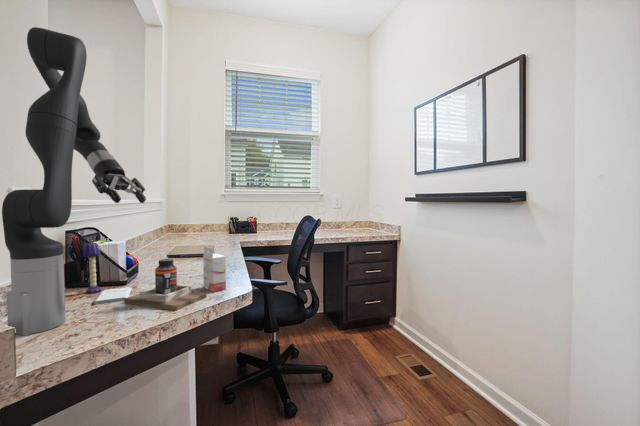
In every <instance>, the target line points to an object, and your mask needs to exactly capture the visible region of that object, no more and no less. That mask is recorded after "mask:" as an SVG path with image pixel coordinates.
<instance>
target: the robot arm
mask: <svg viewBox="0 0 640 426" xmlns="http://www.w3.org/2000/svg"><path fill="white" fill-rule="evenodd" d="M26 44H27V50H28V53H29V55H30V57H31V60H32V61H33V63H34V65H35V67H36V68H37V71H38V72H39V73H40V76H41V77H42V79H43V81H44V83H45V84H46V85H47V87H48V89H49V90H48V91H46V92H45V93H44V94H42V95H41V96H39V97H38V98H37V99H36V100H35V101H33V103H32V104H31V105H30V107H29V108H28V112H27V118H26V125H25V137H26V139H27V142H28V144H29V146H30V148H31V149H32V150H33V152H34V153H35V155H36V157H37V158H38V160H39V162H40V163H41V165H42V168H43V169H42V170H43V175H44V177H43V186H42V189H15V190H12V191H10V192H9V193H7V194H6V196H5V197H4V199H3V201H2V205H1V218H2V219H1V220H2V227H3V236H4V243H5V247H6V248H7V250H8V252H9V259H10V261H9V262H10V285H11V286H10V287H11V288H10V289H11V290H8V291H7V292H6V306H7V307H6V311H7V312H6V313H7V314H6V315H7V327H8V326H12V327H15V329H16V334H15V335H20V336H28V335H30V334H36V333H41V332H45V331H49V330H52V329H55V328H58V327H59V326H61V325H63V324H65V323H66V315H67V313H66V293H65V287H66V286H65V263H64V262H65V259H64V245H63V243H62V242H60V241H58V240H55V239H51V238H49V237H48V236H46V235H44V234H43V232H42V229H45V228H47V229H49V228H60V227H63V226H64V225H66V224H67V222H68V221H69V219H70V216H71V213H72V204H73V202H72V200H73V197H72V194H73V193H72V192H73V191H72V188H73V187H72V175H73V174H72V173H73V172H72V171H73V170H72V169H73V159H74V158H73V157H74V151H76V152H78V153H79V154H80V155H81V156H82V157H83V158H84V159H85V161H86V162H87V164H88V166H89V167H90V169H91V171H92V172H93V173H94V177H93V178H92V180H91V182H92V184H93V185H94V187H95V188H96V190H97V191H98V193H100V195H101V194H105V195H107V196H109V197H110V199H111V200H112V201H113V202H114V203H115V204H119V203H120V201H121V200H122V197H121V196H120V194H119V193H118V192H117V191H124V192H126V193H128V194H133V195H134V196H135V198H137V199H136V200H138V202H139V203H140V204H144V203H145V202H146V200H147V197H146V196H145V195H144V192H145V191H146V188H145V187H144V186H143V185H142V183H141V182H140V181H139V180H138V179H137V178H136V177H133V179H130V178H128V177H127V176H126V174H125V173H126V172H125V170H124V169H123V167H122V165H120V163H119V162H118V161H117V160H116V157H114V156H113V155H112V154H111V153H110V152H109V150H108V149H107V148H106V146H105V145H104V144H103V143H102V142H100V140H101V132H100V130H99V129H98V127H96V125H95V123H94V122H93V121H92V119H91V117H90V113H89V109H88V107H87V103H86V101H85V99H84V97H83V96H82V95H81V90H82V86H83V81H84V75H85V71H86V66H87V59H88V58H87V55H88V54H87V47H86V45H85V43H84V41H83V40H81V39H80V38H79V37H76V36H75V35H74V36H73V35H71V34H66V33H62V32H58V31H54V30H50V29H48V28H42V27H39V26H38V27H37V26H36V27H34V26H33V27H31V28H30V29H29V30H28V32H27V36H26ZM59 71H61V72H63V73H62V74H61V73H60V72H59ZM129 186H130V187H129ZM41 228H42V229H41Z"/></svg>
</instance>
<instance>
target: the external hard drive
mask: <svg viewBox="0 0 640 426" xmlns="http://www.w3.org/2000/svg"><path fill="white" fill-rule="evenodd" d="M131 291H132V287H128V286H127V287H120V288H113V289H104V290H102V291H101V292H99V293H100V294H99V295H98V296H97V297H96V298H95V300H94V301H93V305H100V304H101V305H102V304H108V303H109V304H110V303H117V302H123V301H124V299H125V298H128V297H130V294H131ZM124 302H125V301H124Z"/></svg>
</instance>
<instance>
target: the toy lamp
mask: <svg viewBox="0 0 640 426" xmlns="http://www.w3.org/2000/svg"><path fill="white" fill-rule="evenodd" d="M100 255H101V251H100V248H99V246H98V243H97V242H90V243H89V242H88V243H85V245H84V248H83V252H82V256H83V257H86V258H87V257H88V260H89V261H88V264H89V266H88V268H89V287H88V288H86V290H85V294H88V295H92V294H93V295H94V294H99V293H101V292H102V291H103V290H102V287H100V286H98V283H97V273H96V272H97V265H96V263H97V260H96V257H98V256H100Z"/></svg>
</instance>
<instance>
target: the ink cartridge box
mask: <svg viewBox="0 0 640 426" xmlns="http://www.w3.org/2000/svg"><path fill="white" fill-rule="evenodd" d="M202 258H203V259H202V260H203V263H202V264H203V288H205V289H206V290H209V291H211V292H213V293H214V292H219V291H225V290H227V279H226V278H227V276H226V275H227V274H226V268H227V266H226V265H227V264H226V263H227V261H226V260H227V259H226V255H222V254H219V253H216V252H215V253H214V249H213V248H211V247H209V246H203V257H202Z"/></svg>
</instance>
